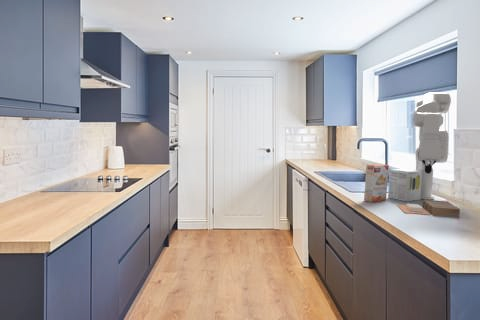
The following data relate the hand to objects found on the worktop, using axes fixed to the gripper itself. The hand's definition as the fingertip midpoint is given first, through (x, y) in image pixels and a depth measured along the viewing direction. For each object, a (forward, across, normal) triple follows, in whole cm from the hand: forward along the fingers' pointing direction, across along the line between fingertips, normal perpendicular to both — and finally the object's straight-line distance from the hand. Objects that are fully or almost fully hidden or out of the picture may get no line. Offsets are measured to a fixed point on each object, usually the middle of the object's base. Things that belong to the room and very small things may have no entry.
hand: (427, 173), depth 200 cm
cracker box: (+20, +23, -18) cm, 35 cm away
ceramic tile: (+17, +6, +2) cm, 18 cm away
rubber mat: (+20, +6, +2) cm, 21 cm away
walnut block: (+20, -7, +2) cm, 21 cm away
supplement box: (+20, +5, -31) cm, 38 cm away
